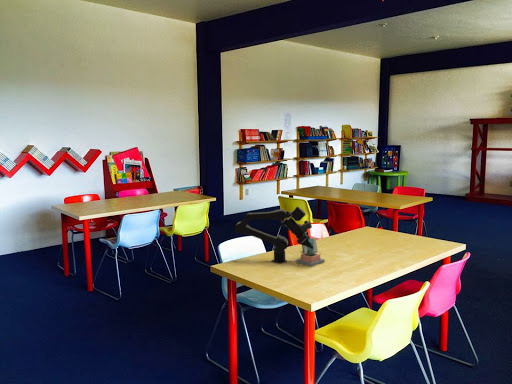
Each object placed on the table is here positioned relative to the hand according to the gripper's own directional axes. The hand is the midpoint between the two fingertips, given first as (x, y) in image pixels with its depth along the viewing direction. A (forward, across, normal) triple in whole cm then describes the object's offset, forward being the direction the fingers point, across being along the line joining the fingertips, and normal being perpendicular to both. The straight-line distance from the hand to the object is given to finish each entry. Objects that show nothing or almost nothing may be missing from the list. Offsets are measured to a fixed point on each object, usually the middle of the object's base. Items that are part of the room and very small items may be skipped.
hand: (312, 246), depth 252 cm
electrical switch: (+5, +21, +9) cm, 23 cm away
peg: (+5, 0, +7) cm, 8 cm away
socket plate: (+6, 0, +8) cm, 10 cm away
